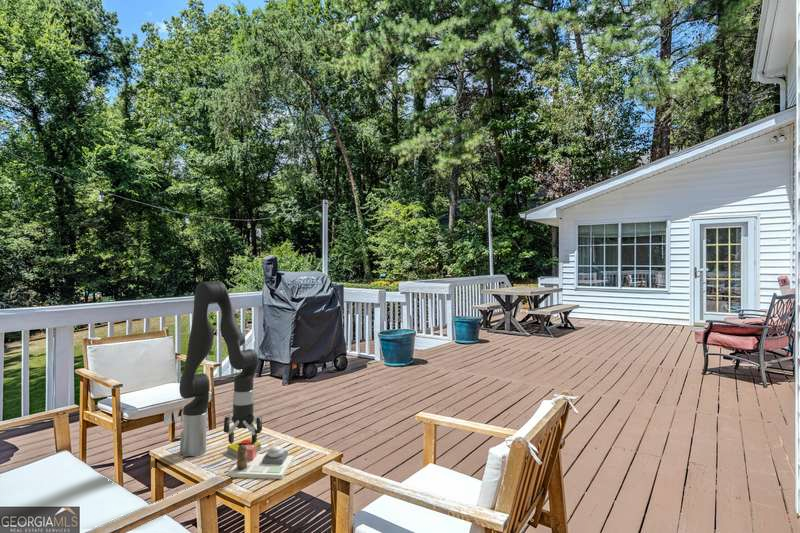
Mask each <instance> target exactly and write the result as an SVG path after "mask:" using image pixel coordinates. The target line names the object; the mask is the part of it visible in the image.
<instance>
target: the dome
mask: <svg viewBox="0 0 800 533" xmlns="http://www.w3.org/2000/svg"><path fill="white" fill-rule="evenodd" d="M284 451H285V449H284V448H283V447H282V446H280V445H272V446H270V447H269V448H268V449H267V452H266V454H267V455H268V456H269V457H272V458H275V457H280V456H282V455H283V454H284Z"/></svg>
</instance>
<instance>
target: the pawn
mask: <svg viewBox="0 0 800 533" xmlns="http://www.w3.org/2000/svg"><path fill="white" fill-rule="evenodd" d="M236 460H237V461H236V463H237V469H238V470H244V469H246V468H247V447H246V446H245V445H240V446H239V447H238V453H237V459H236Z"/></svg>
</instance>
